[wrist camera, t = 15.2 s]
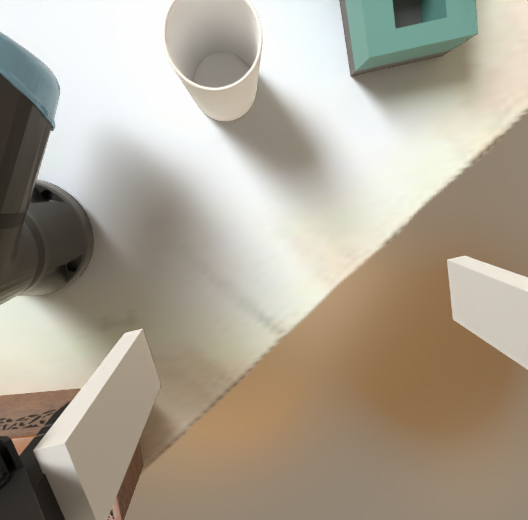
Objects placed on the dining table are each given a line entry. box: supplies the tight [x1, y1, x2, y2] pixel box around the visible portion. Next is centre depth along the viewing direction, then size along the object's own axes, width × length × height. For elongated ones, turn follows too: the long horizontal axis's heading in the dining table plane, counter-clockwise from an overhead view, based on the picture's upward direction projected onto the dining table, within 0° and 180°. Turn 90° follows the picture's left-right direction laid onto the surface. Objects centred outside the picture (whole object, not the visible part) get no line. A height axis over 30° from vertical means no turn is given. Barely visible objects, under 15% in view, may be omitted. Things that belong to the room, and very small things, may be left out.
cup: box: [162, 0, 262, 121], centre depth 37 cm, size 8×8×16 cm
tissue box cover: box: [0, 389, 143, 520], centre depth 50 cm, size 26×14×10 cm, turn 94°
